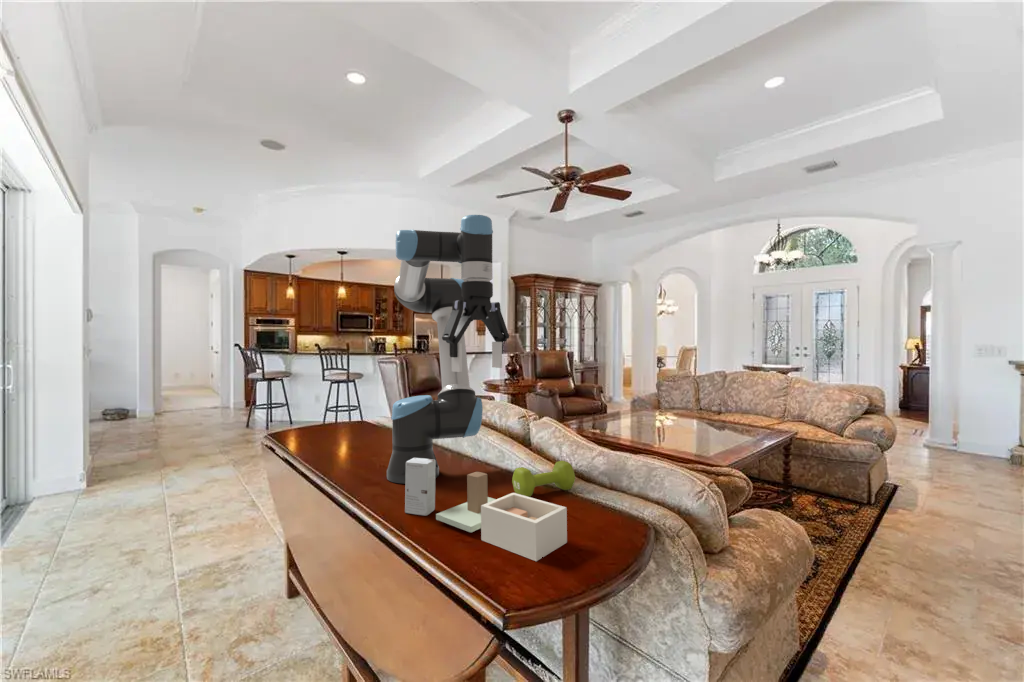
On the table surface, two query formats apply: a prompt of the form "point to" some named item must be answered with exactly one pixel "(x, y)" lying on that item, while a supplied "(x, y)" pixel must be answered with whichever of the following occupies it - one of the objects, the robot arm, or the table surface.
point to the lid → (469, 505)
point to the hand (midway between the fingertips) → (477, 369)
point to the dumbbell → (543, 478)
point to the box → (524, 525)
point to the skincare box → (420, 486)
